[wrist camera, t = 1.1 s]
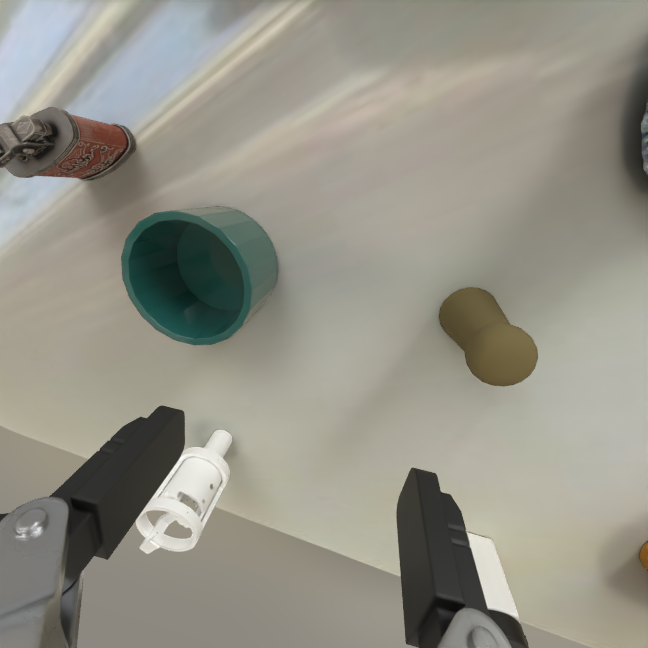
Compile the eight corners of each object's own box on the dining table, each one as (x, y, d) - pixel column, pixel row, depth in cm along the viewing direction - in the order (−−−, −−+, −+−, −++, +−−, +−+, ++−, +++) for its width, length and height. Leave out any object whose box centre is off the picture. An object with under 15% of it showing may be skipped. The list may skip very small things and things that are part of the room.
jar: (458, 573, 51) (482, 678, 40) (425, 545, 49) (440, 647, 38) (508, 553, 47) (549, 662, 36) (474, 523, 46) (507, 627, 35)
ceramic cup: (155, 234, 36) (94, 247, 28) (244, 186, 32) (204, 184, 24) (210, 327, 39) (171, 360, 32) (296, 292, 36) (275, 320, 28)
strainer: (190, 433, 47) (116, 533, 33) (218, 410, 44) (150, 508, 31) (225, 463, 48) (167, 570, 35) (254, 442, 46) (204, 548, 32)
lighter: (122, 116, 31) (19, 85, 22) (142, 151, 32) (52, 135, 23) (68, 156, 34) (-46, 142, 24) (88, 187, 35) (-14, 186, 25)
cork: (439, 341, 36) (465, 399, 26) (438, 290, 34) (467, 333, 23) (496, 337, 35) (547, 396, 25) (499, 284, 32) (557, 326, 22)
